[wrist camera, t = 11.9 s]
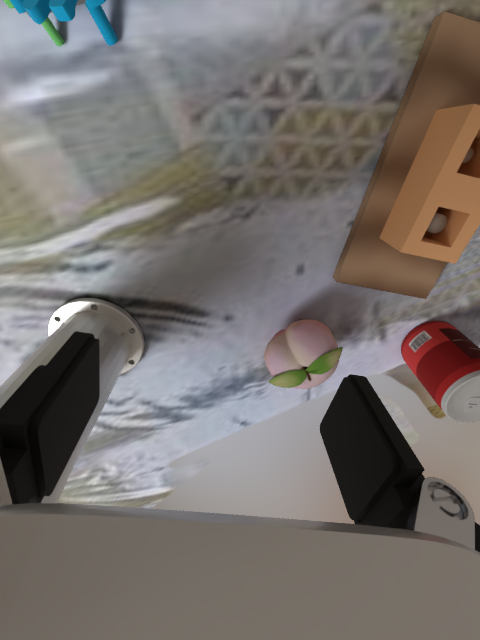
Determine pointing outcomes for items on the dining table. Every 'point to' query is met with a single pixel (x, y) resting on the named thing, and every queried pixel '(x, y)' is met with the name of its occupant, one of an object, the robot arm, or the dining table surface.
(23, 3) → the gear
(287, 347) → the decorative fruit
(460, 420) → the canned food
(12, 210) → the dining table surface
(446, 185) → the block with square holes
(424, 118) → the locating board
